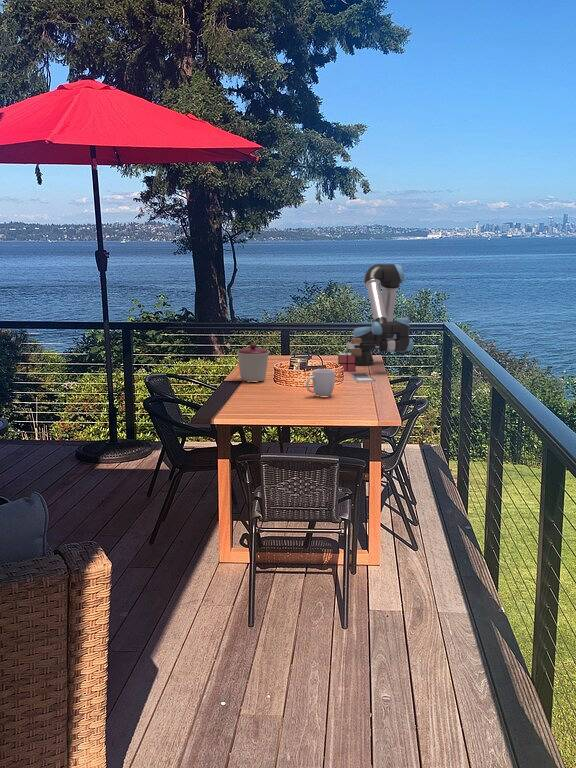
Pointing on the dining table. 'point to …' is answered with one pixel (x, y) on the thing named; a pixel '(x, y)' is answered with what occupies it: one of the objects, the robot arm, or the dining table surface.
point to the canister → (253, 363)
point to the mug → (322, 382)
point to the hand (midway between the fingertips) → (347, 345)
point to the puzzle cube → (347, 361)
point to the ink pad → (358, 375)
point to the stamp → (356, 351)
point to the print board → (364, 379)
